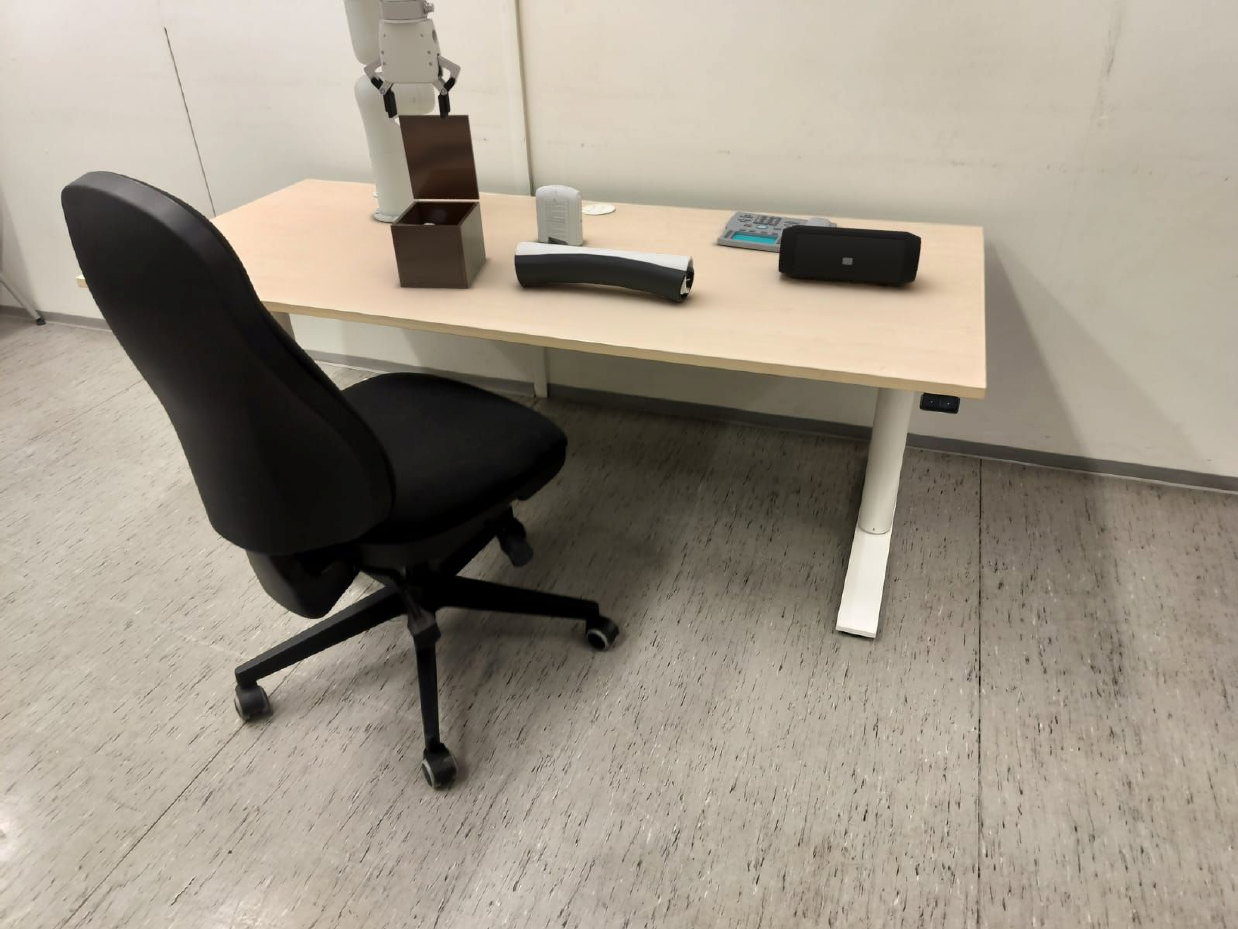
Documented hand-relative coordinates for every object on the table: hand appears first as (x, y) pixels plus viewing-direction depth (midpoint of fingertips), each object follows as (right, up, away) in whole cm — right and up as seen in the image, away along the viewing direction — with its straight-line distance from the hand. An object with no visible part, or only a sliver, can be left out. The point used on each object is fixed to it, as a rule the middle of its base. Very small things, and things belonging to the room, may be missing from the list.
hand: (418, 116), depth 155 cm
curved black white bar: (+34, -29, +11) cm, 46 cm away
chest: (+1, -24, +18) cm, 31 cm away
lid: (+1, -3, +12) cm, 13 cm away
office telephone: (+71, -13, +33) cm, 79 cm away
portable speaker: (+81, -28, +11) cm, 86 cm away
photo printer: (+24, -15, +32) cm, 43 cm away
